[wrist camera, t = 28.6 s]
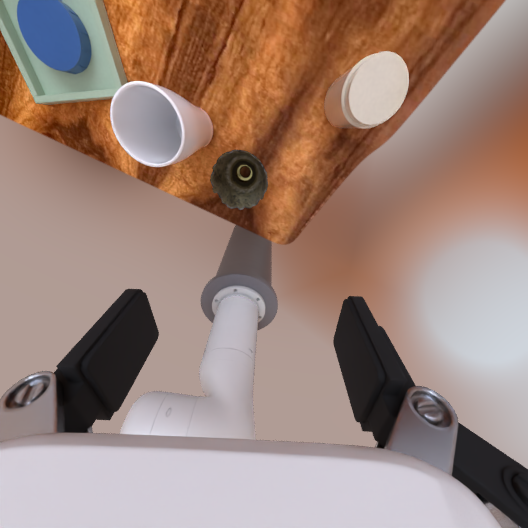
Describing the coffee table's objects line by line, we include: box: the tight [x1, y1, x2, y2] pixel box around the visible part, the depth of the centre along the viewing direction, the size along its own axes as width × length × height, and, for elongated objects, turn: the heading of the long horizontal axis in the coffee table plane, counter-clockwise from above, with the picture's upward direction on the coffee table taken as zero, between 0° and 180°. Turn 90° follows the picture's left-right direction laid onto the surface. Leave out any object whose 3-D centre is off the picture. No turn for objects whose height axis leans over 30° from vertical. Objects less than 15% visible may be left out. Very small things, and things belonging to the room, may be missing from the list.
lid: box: [17, 0, 92, 75], centre depth 27 cm, size 7×7×2 cm
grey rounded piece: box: [210, 150, 268, 210], centre depth 32 cm, size 8×7×8 cm
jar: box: [324, 51, 409, 129], centre depth 26 cm, size 6×6×11 cm
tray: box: [0, 0, 128, 105], centre depth 27 cm, size 13×13×2 cm
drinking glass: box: [110, 81, 213, 167], centre depth 26 cm, size 7×7×15 cm
